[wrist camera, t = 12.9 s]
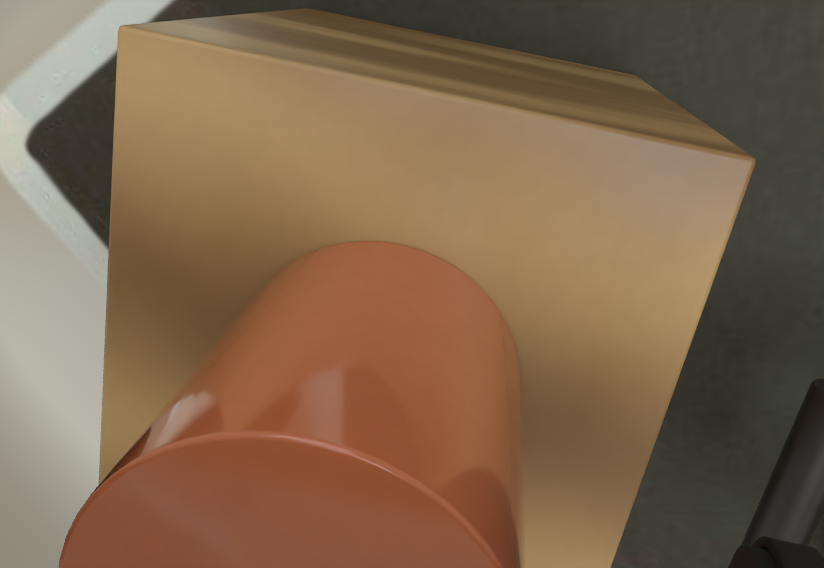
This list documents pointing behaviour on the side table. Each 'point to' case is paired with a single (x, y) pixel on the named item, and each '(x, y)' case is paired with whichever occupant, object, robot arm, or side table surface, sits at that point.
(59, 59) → the side table surface
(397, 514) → the spice jar
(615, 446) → the oak stand
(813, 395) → the drawer
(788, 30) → the side table surface
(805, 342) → the side table surface
